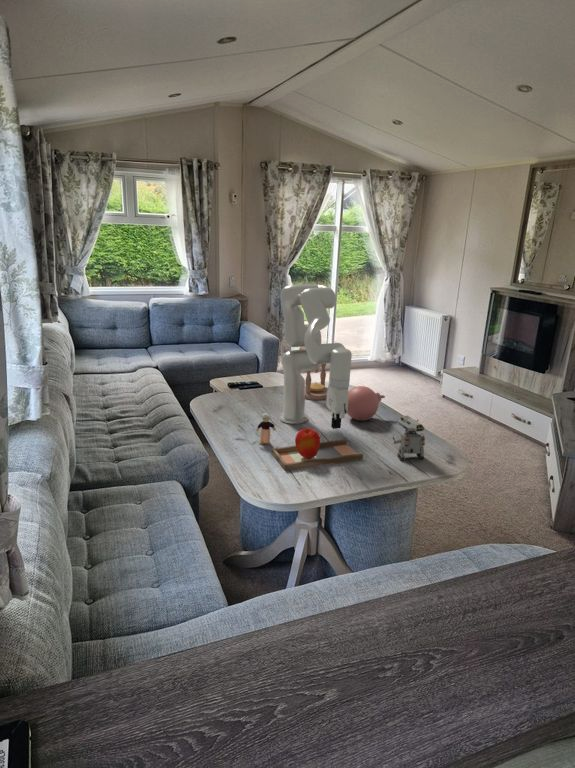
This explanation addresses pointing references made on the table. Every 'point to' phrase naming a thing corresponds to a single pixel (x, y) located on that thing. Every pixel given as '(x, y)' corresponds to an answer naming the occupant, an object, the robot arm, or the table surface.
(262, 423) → the grandmother figurine
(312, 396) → the hourglass
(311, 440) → the apple
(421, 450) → the figurine
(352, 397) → the balloon
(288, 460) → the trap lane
